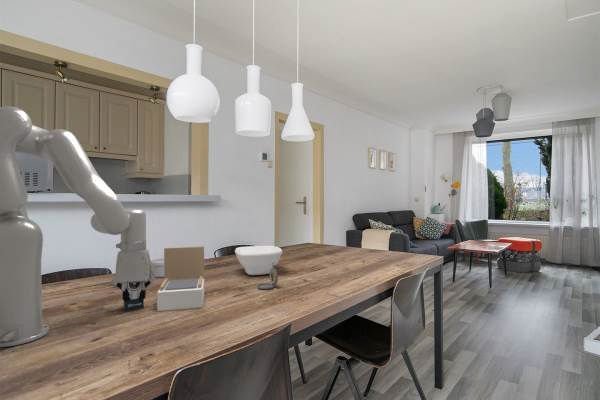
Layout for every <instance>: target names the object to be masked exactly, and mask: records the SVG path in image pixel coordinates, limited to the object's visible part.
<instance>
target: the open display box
mask: <svg viewBox="0 0 600 400" xmlns="http://www.w3.org/2000/svg"><path fill="white" fill-rule="evenodd" d="M163 250H164V251H163V255H164V256H163V258H164V277H163V278H164V280H163V282H162V283H161V285H160V286H159V289H158V291H157V297H156V301H157V304H156V305H157V306H156V307H157V309H156V311H157V312H160V311H161V312H163V311H176V310H187V309H188V310H189V309H198V308H199V309H200V308H203V307H204V299H205V246H182V247H181V246H180V247H178V246H177V247H164V249H163Z"/></svg>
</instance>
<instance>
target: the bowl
mask: <svg viewBox="0 0 600 400" xmlns="http://www.w3.org/2000/svg"><path fill="white" fill-rule="evenodd" d="M283 252H284V251H283V249H282V248H281V247H278V246H276V245H252V246H251V245H250V246H240V247H237V248H235V250H234V253H235V256H236V257H237V260H238V262H239V264H240V265H242V267H243V269H244V271H245V273H246V274H247V275H249V276H250V275H251V276H255V275H256V276H257V275H259V276H261V275H266V274H267V275H268V274H269V275H270V270H271V268H273V267H272V263H273V262H275V263H273V264H274V265H275V266H276V265H277V264H278V263H279V261H280V259H281V256H282V254H283Z"/></svg>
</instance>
